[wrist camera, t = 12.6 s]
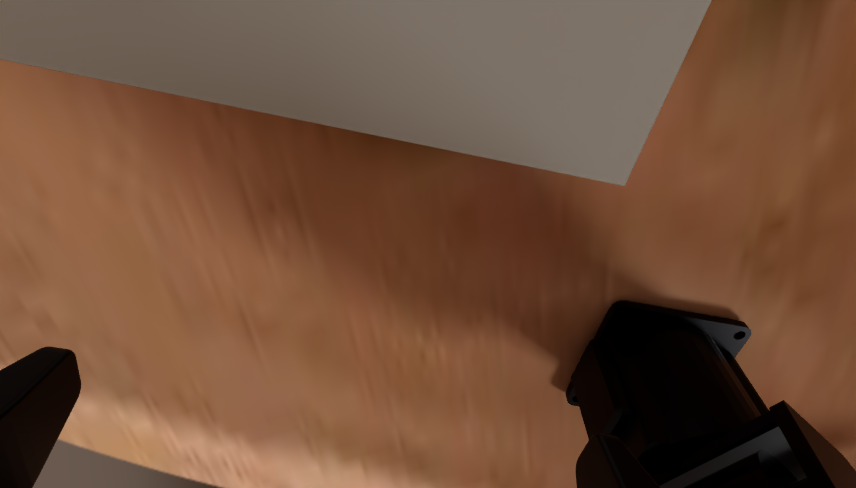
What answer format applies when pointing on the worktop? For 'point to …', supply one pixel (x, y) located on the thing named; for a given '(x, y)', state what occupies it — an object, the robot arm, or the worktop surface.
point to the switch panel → (393, 66)
